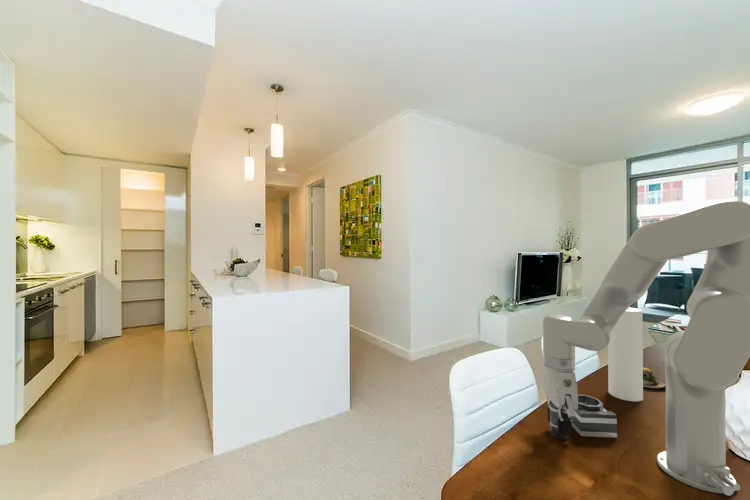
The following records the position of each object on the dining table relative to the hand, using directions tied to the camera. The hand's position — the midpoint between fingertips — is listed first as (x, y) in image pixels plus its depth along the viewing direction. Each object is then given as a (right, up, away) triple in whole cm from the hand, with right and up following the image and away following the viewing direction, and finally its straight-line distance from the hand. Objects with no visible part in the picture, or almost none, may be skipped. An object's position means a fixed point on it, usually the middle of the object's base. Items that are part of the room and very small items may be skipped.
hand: (559, 427), depth 88 cm
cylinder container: (+36, -2, +23) cm, 43 cm away
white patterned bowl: (+50, -2, +32) cm, 59 cm away
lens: (0, -2, 0) cm, 2 cm away
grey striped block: (+11, -2, +5) cm, 12 cm away
